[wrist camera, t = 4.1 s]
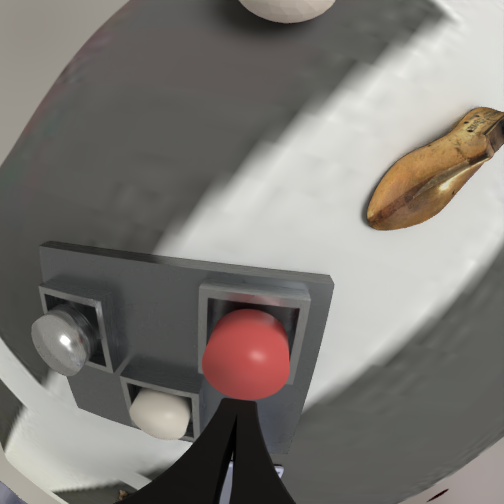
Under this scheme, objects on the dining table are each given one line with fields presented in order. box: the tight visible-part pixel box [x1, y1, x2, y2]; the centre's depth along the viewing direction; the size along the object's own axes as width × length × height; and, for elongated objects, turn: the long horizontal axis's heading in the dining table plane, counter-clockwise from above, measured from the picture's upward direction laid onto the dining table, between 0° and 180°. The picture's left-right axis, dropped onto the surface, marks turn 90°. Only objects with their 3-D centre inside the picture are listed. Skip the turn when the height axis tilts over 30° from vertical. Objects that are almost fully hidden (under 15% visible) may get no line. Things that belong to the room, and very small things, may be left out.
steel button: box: [31, 304, 97, 376], centre depth 16 cm, size 4×4×2 cm
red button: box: [202, 309, 290, 400], centre depth 15 cm, size 4×4×2 cm
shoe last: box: [367, 107, 504, 231], centre depth 13 cm, size 4×14×5 cm, turn 126°
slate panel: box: [38, 241, 334, 454], centre depth 19 cm, size 17×21×3 cm
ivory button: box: [129, 387, 192, 440], centre depth 19 cm, size 4×4×2 cm
